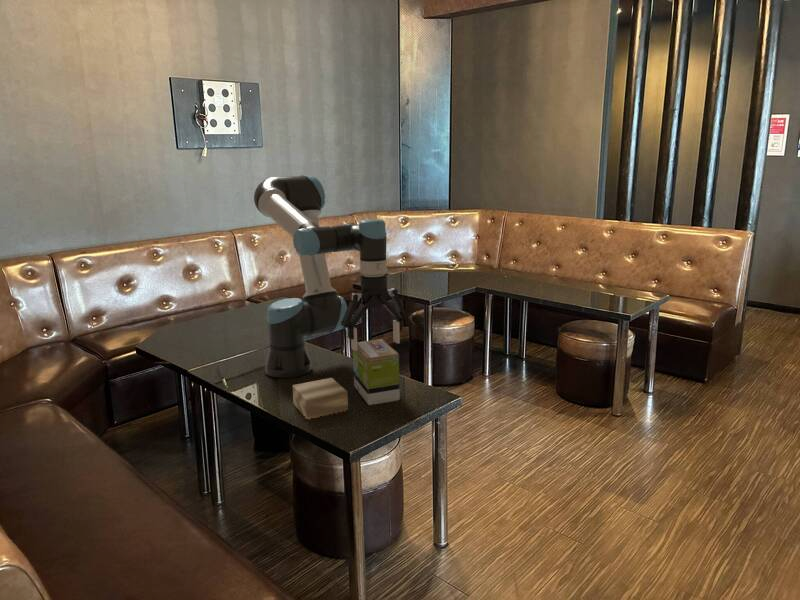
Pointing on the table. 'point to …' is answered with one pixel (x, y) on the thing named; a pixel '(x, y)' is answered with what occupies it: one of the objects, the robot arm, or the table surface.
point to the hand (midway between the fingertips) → (375, 345)
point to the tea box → (376, 372)
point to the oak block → (320, 398)
